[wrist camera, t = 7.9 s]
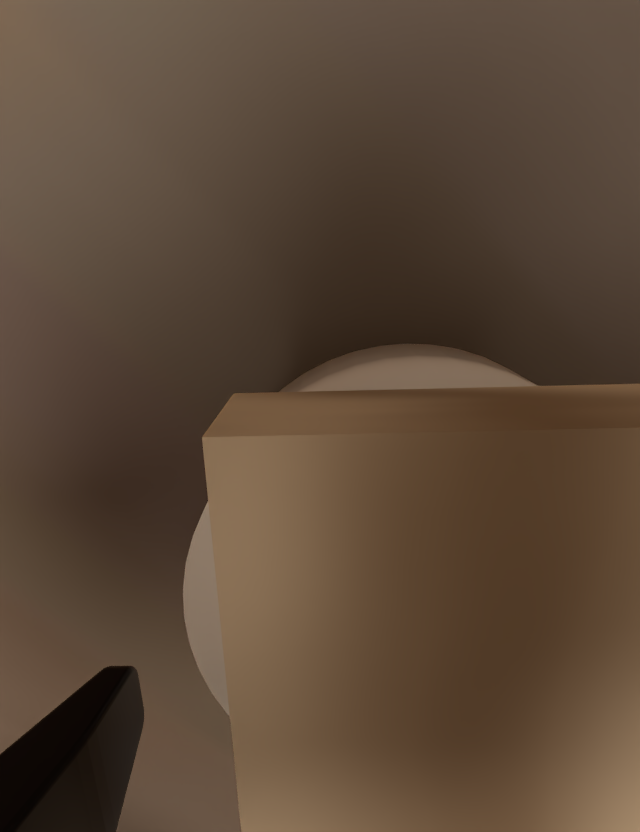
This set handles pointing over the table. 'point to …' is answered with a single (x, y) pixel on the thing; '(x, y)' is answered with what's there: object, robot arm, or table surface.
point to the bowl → (343, 373)
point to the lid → (431, 607)
